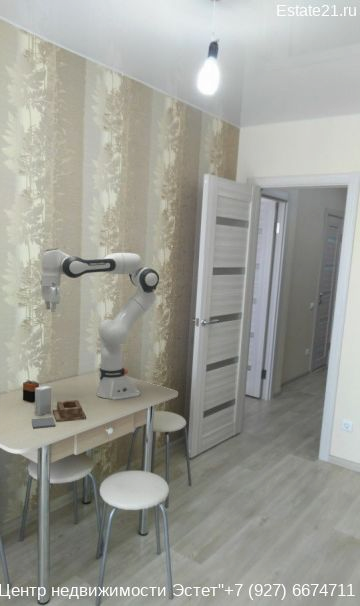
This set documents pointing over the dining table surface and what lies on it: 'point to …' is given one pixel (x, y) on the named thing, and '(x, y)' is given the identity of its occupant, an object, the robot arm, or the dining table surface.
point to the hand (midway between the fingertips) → (50, 310)
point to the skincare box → (43, 400)
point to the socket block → (69, 411)
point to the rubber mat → (43, 422)
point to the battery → (29, 390)
